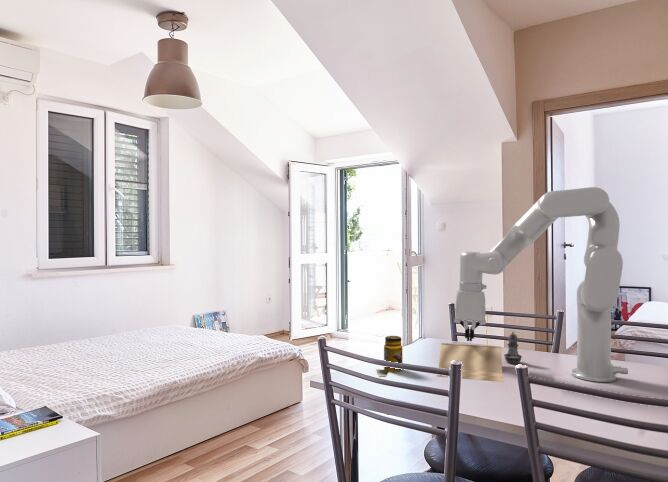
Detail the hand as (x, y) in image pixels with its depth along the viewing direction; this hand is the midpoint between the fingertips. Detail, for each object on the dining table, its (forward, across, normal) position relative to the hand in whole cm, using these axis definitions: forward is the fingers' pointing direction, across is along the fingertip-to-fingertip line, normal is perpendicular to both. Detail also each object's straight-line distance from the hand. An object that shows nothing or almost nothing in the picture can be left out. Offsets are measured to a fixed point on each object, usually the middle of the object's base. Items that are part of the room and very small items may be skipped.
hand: (469, 340), depth 171 cm
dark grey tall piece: (+9, -15, -4) cm, 18 cm away
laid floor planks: (+9, -1, +15) cm, 18 cm away
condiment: (+10, +24, +17) cm, 31 cm away
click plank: (+6, -1, +4) cm, 7 cm away
